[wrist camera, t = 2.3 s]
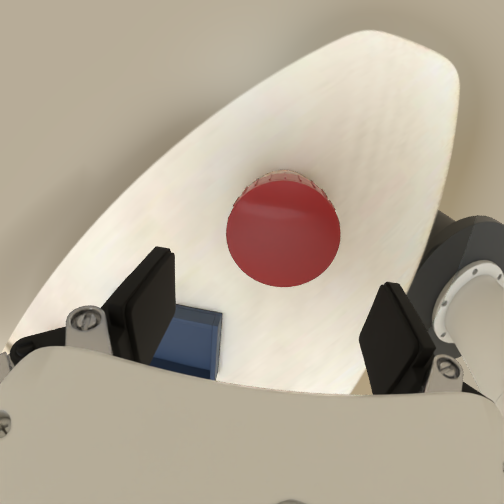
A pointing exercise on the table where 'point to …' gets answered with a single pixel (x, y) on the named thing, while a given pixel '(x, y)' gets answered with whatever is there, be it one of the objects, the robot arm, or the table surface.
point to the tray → (191, 343)
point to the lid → (283, 230)
